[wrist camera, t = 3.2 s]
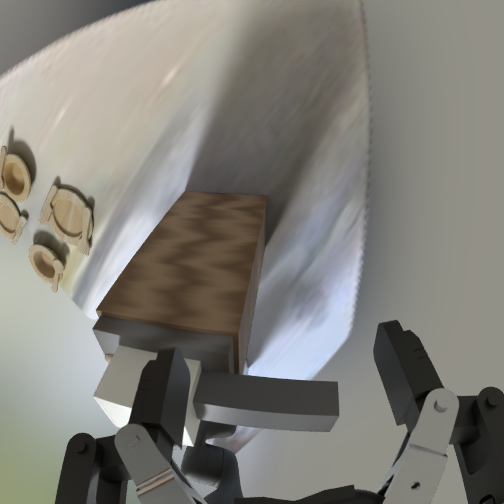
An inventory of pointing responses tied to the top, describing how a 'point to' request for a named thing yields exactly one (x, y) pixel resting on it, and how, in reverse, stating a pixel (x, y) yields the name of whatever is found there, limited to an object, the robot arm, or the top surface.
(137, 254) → the wood-grain topped box
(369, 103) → the top surface
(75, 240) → the tableware set
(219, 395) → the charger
